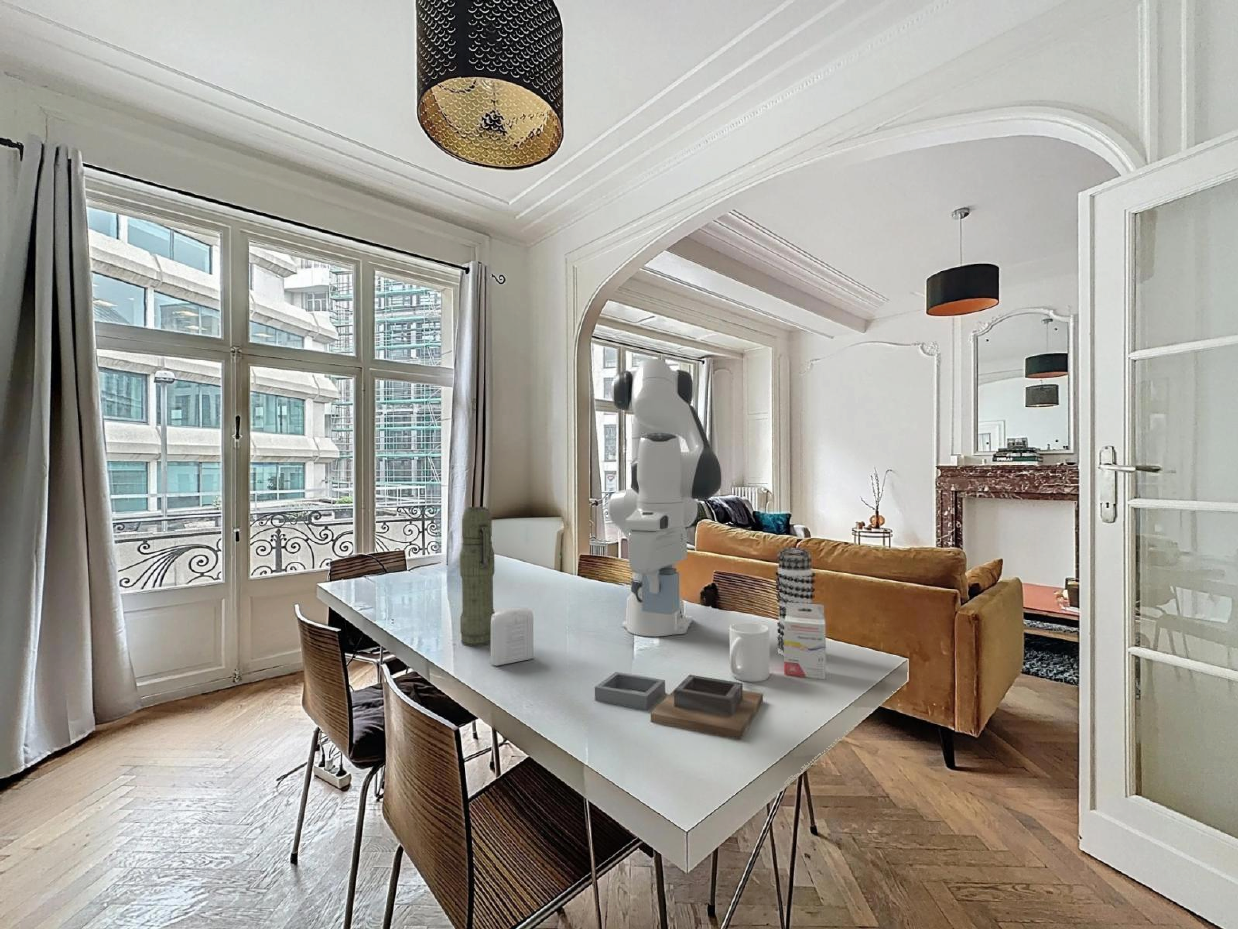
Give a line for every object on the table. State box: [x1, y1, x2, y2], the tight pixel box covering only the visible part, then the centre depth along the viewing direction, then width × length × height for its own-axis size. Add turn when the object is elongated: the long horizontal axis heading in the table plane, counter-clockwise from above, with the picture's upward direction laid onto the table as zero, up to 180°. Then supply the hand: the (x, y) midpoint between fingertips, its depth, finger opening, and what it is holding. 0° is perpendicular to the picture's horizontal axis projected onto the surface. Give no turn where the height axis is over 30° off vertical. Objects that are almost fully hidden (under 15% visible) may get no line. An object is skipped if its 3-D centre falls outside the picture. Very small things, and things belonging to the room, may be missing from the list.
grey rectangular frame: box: [594, 671, 666, 711], centre depth 112 cm, size 9×11×2 cm
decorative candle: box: [775, 547, 816, 657], centre depth 136 cm, size 9×9×25 cm
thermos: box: [459, 506, 496, 647], centre depth 149 cm, size 9×12×35 cm
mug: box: [729, 622, 771, 683], centre depth 120 cm, size 12×8×10 cm
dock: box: [650, 674, 764, 741], centre depth 104 cm, size 17×16×4 cm
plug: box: [642, 567, 680, 615], centre depth 108 cm, size 4×6×8 cm, turn 63°
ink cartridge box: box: [783, 602, 827, 680], centre depth 123 cm, size 9×5×15 cm, turn 71°
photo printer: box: [490, 606, 534, 666], centre depth 133 cm, size 10×4×12 cm, turn 123°
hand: (660, 590), depth 108 cm, fingers closed on plug, 4 cm apart
